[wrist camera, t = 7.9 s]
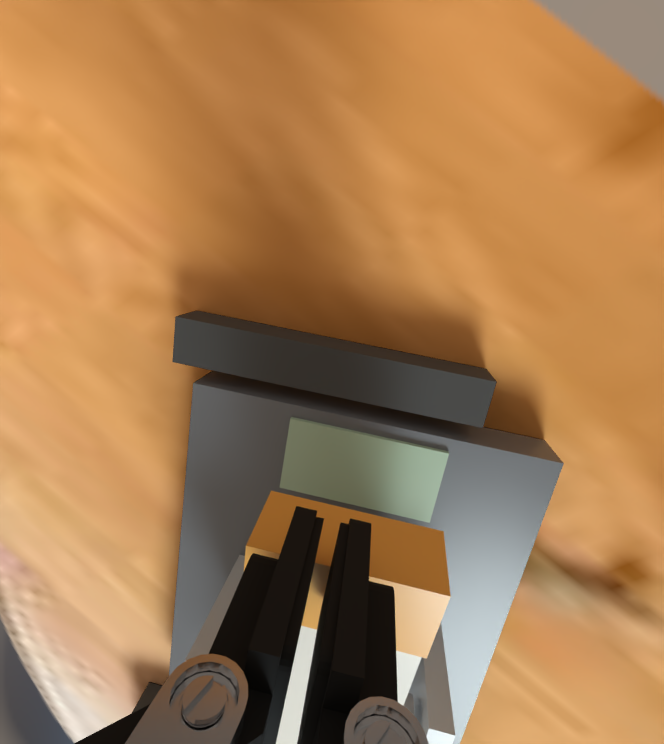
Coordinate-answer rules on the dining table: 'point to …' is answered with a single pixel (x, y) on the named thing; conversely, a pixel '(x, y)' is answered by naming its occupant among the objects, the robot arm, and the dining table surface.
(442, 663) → the panel
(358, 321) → the dining table surface
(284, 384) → the pair of grey rails
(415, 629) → the rocker lever
